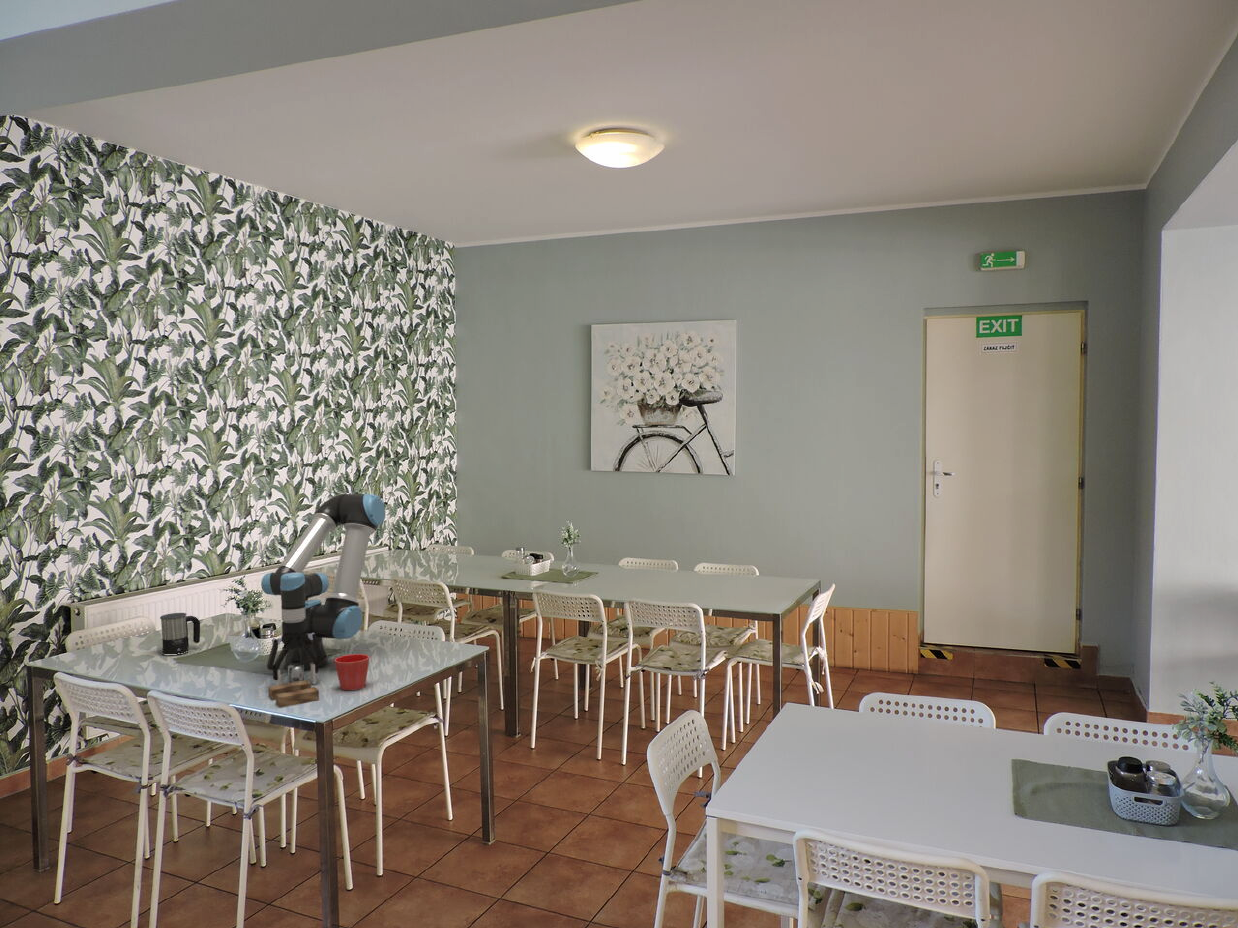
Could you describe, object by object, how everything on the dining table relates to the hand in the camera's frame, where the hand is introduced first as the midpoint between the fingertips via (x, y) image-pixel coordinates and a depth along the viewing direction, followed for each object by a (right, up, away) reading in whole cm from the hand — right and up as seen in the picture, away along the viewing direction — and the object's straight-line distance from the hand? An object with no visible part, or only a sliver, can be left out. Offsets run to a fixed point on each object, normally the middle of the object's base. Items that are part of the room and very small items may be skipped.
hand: (296, 686), depth 294 cm
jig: (+4, -1, -12) cm, 13 cm away
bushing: (0, 0, 0) cm, 0 cm away
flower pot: (+19, 0, -1) cm, 19 cm away
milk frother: (-65, +1, +50) cm, 82 cm away
